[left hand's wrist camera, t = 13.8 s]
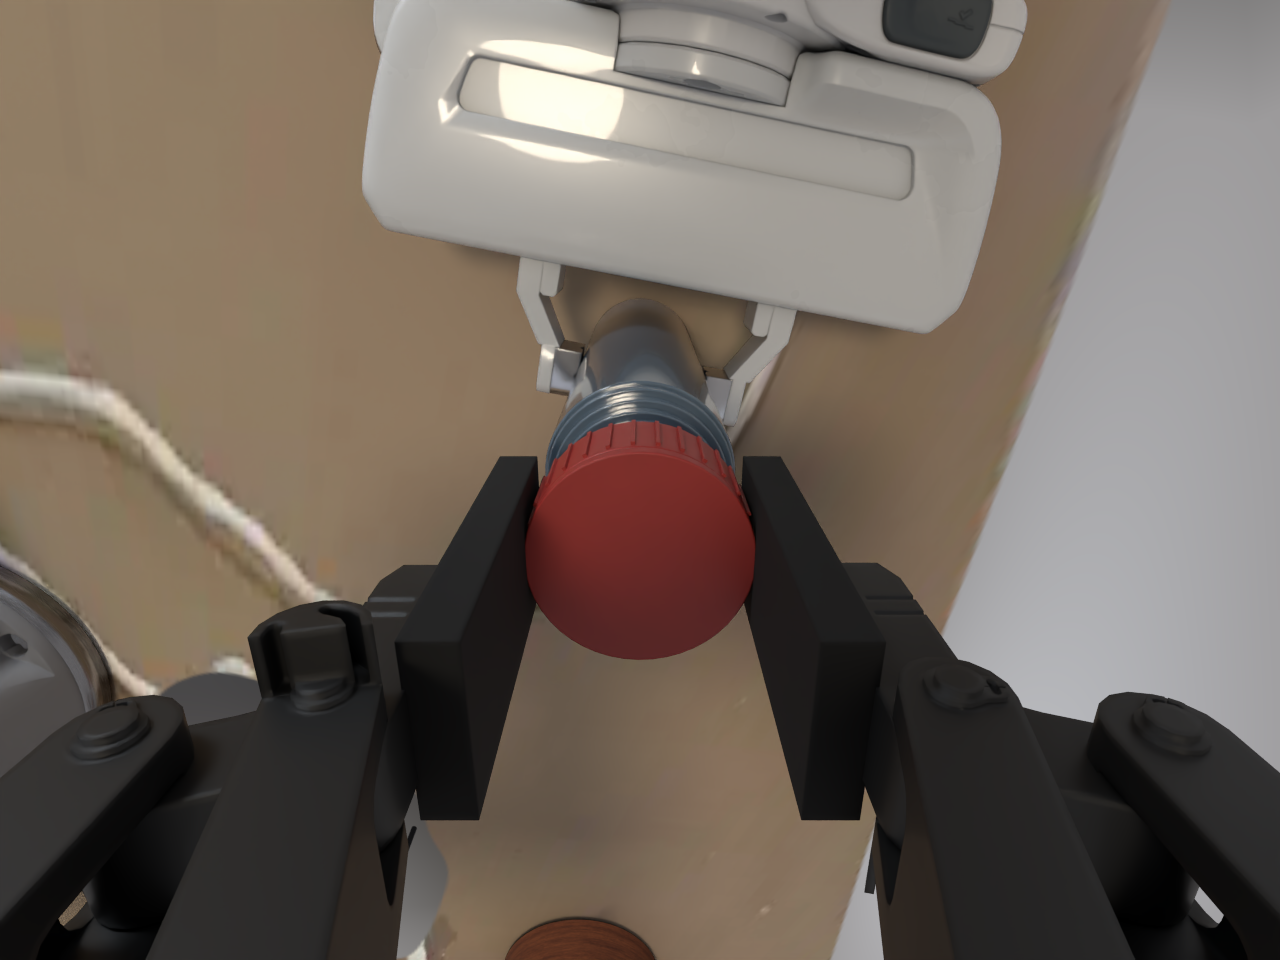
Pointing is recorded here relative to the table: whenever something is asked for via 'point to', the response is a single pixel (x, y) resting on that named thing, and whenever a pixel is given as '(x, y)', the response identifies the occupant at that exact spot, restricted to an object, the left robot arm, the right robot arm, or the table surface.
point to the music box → (579, 943)
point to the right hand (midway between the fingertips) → (636, 405)
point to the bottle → (640, 380)
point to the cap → (640, 542)
